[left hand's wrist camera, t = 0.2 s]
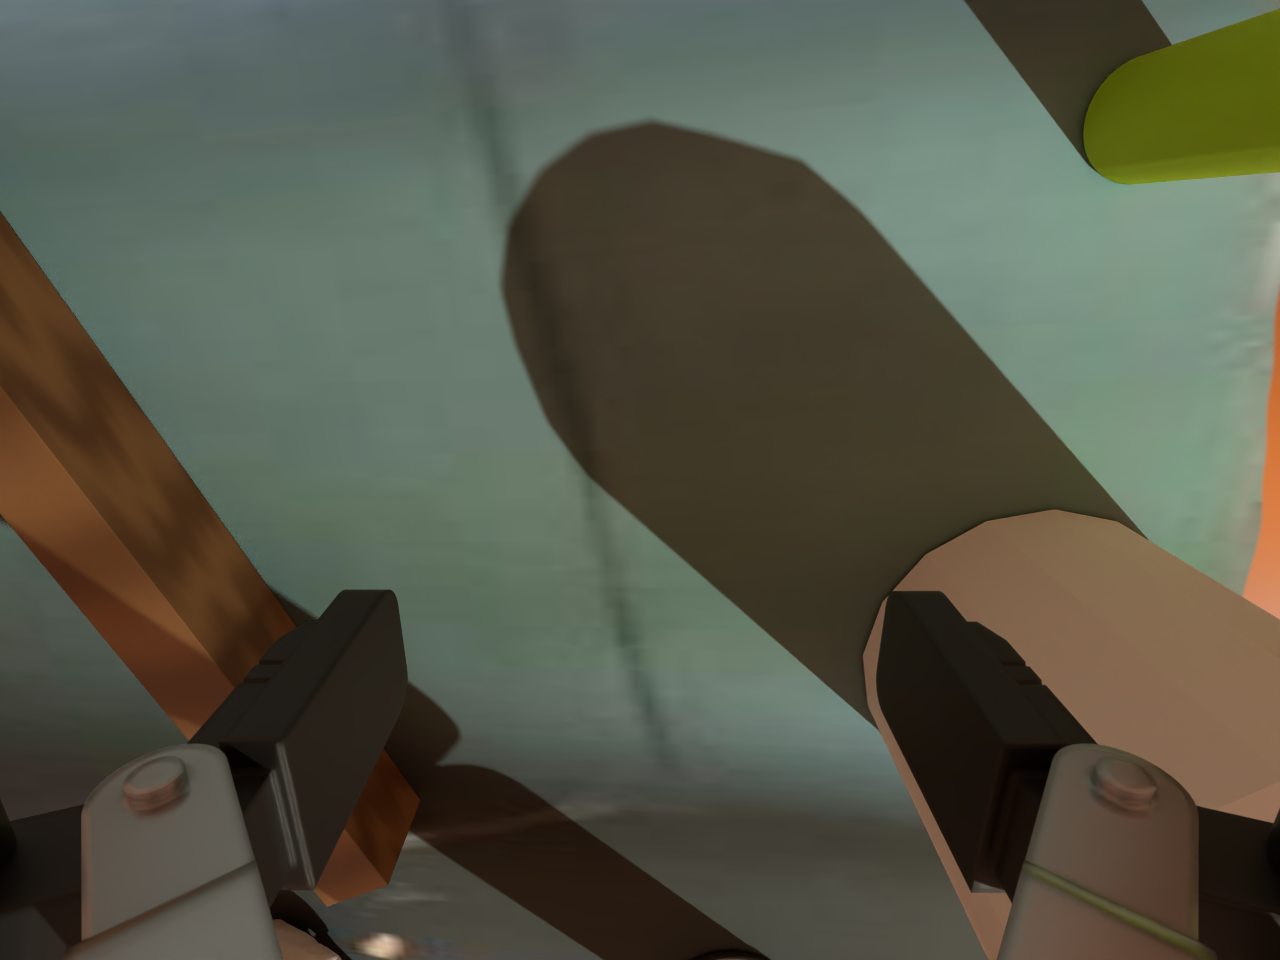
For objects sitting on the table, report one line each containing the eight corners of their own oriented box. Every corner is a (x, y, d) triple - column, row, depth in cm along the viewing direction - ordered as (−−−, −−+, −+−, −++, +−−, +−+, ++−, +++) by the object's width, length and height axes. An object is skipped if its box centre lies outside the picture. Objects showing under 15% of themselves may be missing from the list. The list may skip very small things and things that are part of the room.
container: (1227, 507, 42) (2219, 982, 16) (1139, 782, 49) (1711, 1422, 23) (882, 506, 42) (1292, 980, 16) (845, 782, 49) (1082, 1422, 23)
